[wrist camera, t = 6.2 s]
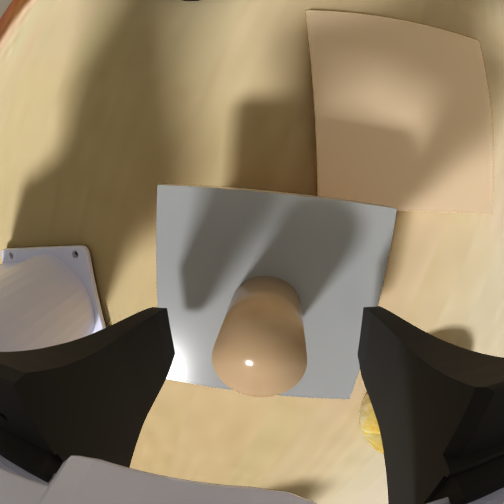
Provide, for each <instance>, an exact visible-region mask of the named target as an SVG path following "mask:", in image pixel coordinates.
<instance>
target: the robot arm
mask: <svg viewBox="0 0 504 504" xmlns="http://www.w3.org/2000/svg"><path fill="white" fill-rule="evenodd" d="M75 251H76V252H77V253H78V256H77V255H76V253H75ZM1 256H2V261H3V263H2V264H0V504H317V503H315V502H313V501H311V500H308V499H305V498H303V497H300V496H298V495H295V494H293V493H291V492H287V491H278V490H270V489H263V488H257V487H246V486H232V485H222V484H212V483H204V482H197V481H190V480H184V479H178V478H173V477H167V476H162V475H157V474H153V473H148V472H144V471H140V470H136V469H132V468H129V466H130V463H131V459H132V456H133V452H134V449H135V446H136V443H137V440H138V437H139V434H140V431H141V428H142V426H143V423H144V421H145V419H146V416H147V414H148V412H149V410H150V409H151V407H152V405H153V403H154V401H155V399H156V397H157V395H158V393H159V391H160V389H161V387H162V386H163V384H164V382H165V380H166V378H167V376H168V374H169V371H170V368H171V365H172V362H173V359H174V355H175V350H174V345H173V339H172V334H171V328H170V323H169V317H168V311H167V308H156V307H152V308H148V309H146V310H143V311H141V312H139V313H136V314H134V315H132V316H130V317H128V318H126V319H124V320H122V321H120V322H118V323H115V324H113V325H111V326H109V327H107V328H106V326H105V322H104V318H103V314H102V310H101V306H100V301H99V297H98V292H97V288H96V283H95V278H94V273H93V268H92V262H91V257H90V252H89V249H88V248H87V247H86V246H84V245H76V246H51V247H27V248H6V249H3V250H2V252H1ZM357 355H358V360H359V365H360V370H361V375H362V378H363V381H364V384H365V387H366V390H367V393H368V396H369V398H370V401H371V404H372V407H373V410H374V413H375V416H376V419H377V422H378V426H379V429H380V434H381V440H382V445H383V451H384V458H385V465H386V473H387V485H388V500H389V504H504V358H501V357H495V356H490V355H485V354H481V353H478V352H474V351H470V350H467V349H464V348H461V347H458V346H455V345H453V344H450V343H448V342H445V341H443V340H441V339H438V338H436V337H434V336H432V335H430V334H428V333H426V332H424V331H422V330H421V329H419V328H417V327H415V326H413V325H412V324H410V323H408V322H407V321H405V320H403V319H402V318H400V317H398V316H397V315H395V314H393V313H391V312H390V311H388V310H386V309H384V308H382V307H380V306H377V307H363V316H362V325H361V333H360V340H359V347H358V354H357Z"/></svg>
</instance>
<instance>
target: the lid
mask: <svg viewBox="0 0 504 504" xmlns="http://www.w3.org/2000/svg"><path fill="white" fill-rule="evenodd" d="M396 212H397V209H396V208H394V207H391V206H387V205H380V204H374V203H367V202H360V201H353V200H346V199H338V198H330V197H322V196H314V195H305V194H296V193H287V192H277V191H266V190H255V189H244V188H231V187H218V186H203V185H186V184H166V183H165V184H159V185H157V214H156V266H157V299H158V308H167V311H168V317H169V323H170V328H171V334H172V339H173V345H174V350H175V355H174V359H173V362H172V365H171V368H170V371H169V374H168V376H167V378H166V379H170V380H175V381H180V382H186V383H191V384H197V385H202V386H208V387H215V388H221V389H228V390H234V391H236V392H239V393H241V394H244V395H248V396H253V397H270V396H275V395H280V396H292V397H308V398H329V399H350V396H351V393H352V390H353V387H354V385H355V382H356V379H357V376H358V373H359V370H360V365H359V360H358V355H357V354H358V347H359V340H360V333H361V325H362V316H363V307H377V306H378V303H379V299H380V295H381V290H382V286H383V282H384V277H385V273H386V268H387V263H388V258H389V253H390V248H391V242H392V237H393V231H394V225H395V219H396Z"/></svg>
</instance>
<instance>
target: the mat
mask: <svg viewBox="0 0 504 504" xmlns="http://www.w3.org/2000/svg"><path fill="white" fill-rule="evenodd" d="M306 23H307V32H308V41H309V51H310V61H311V73H312V86H313V100H314V116H315V135H316V160H317V196H322V197H330V198H338V199H346V200H353V201H360V202H367V203H374V204H380V205H387V206H391V207H394V208H396V209H397V211H408V212H445V213H470V214H490V215H492V212H493V195H494V144H493V127H492V115H491V106H490V97H489V90H488V83H487V77H486V71H485V66H484V61H483V56H482V51H481V47H480V43H479V41H478V40H475V39H472V38H469V37H466V36H463V35H460V34H457V33H454V32H450V31H447V30H443V29H439V28H435V27H432V26H427V25H423V24H419V23H414V22H410V21H405V20H399V19H394V18H388V17H381V16H375V15H367V14H359V13H349V12H337V11H319V10H306Z"/></svg>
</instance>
